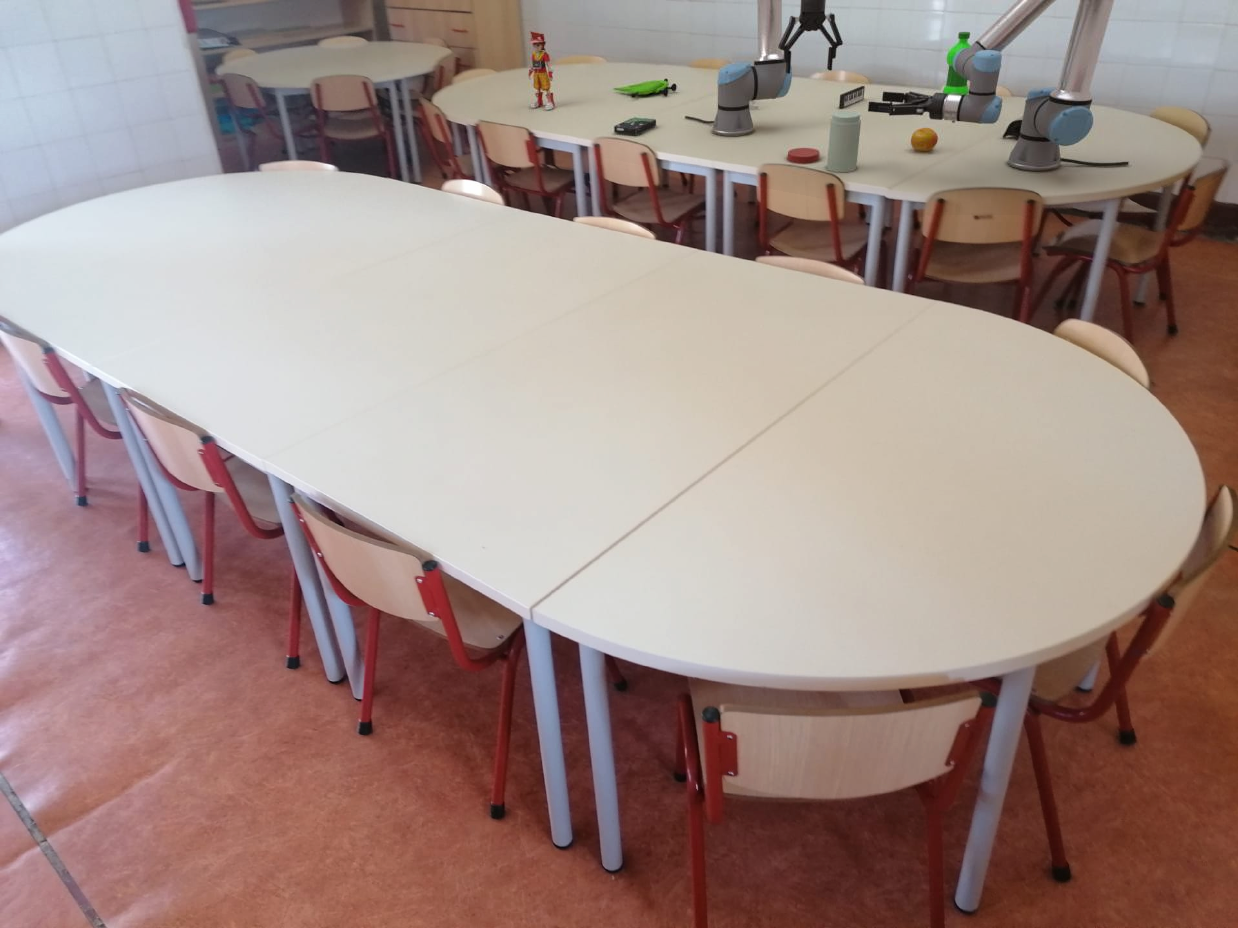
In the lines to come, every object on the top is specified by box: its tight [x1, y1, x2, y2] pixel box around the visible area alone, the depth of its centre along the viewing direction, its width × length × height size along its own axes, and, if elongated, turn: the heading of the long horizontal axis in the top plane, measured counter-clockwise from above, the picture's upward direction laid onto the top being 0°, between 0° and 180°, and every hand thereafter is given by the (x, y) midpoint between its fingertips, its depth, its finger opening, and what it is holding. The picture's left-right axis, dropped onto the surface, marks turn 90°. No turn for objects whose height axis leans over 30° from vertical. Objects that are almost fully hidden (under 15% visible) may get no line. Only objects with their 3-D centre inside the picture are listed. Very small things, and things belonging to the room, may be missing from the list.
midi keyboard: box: [838, 85, 866, 109], centre depth 359 cm, size 18×1×5 cm, turn 138°
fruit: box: [910, 127, 939, 152], centre depth 303 cm, size 8×8×8 cm
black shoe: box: [1002, 115, 1023, 140], centre depth 316 cm, size 30×9×10 cm
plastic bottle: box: [942, 31, 972, 95], centre depth 348 cm, size 10×10×25 cm
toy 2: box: [612, 78, 677, 99], centre depth 396 cm, size 28×5×30 cm
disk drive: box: [613, 116, 657, 136], centre depth 344 cm, size 10×3×15 cm
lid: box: [787, 147, 821, 164], centre depth 303 cm, size 10×10×2 cm
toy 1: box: [527, 31, 556, 111], centre depth 374 cm, size 12×9×30 cm
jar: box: [826, 110, 862, 173], centre depth 289 cm, size 9×9×17 cm
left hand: (808, 71), depth 288 cm, fingers open, 13 cm apart
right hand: (875, 101), depth 277 cm, fingers open, 13 cm apart
